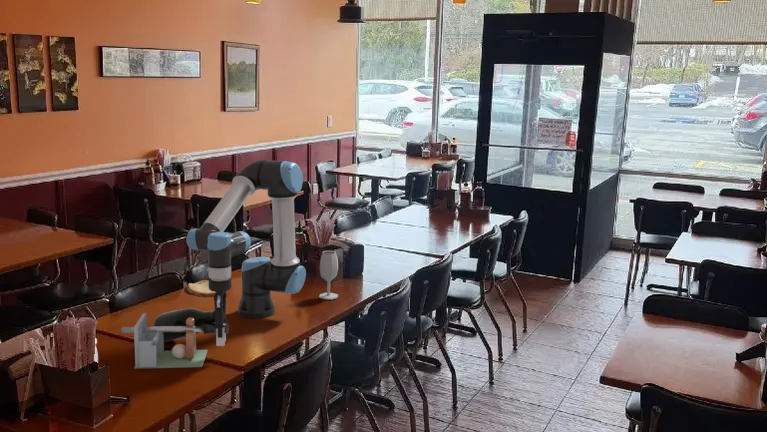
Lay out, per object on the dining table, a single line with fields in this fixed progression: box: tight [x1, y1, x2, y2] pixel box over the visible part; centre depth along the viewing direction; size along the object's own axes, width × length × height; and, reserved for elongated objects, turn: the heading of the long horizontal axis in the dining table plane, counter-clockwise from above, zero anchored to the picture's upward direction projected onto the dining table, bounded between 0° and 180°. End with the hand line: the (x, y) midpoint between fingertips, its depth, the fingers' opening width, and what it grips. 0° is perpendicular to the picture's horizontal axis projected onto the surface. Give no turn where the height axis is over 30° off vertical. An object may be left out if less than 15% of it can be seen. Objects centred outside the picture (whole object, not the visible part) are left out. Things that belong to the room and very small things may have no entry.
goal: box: [133, 312, 165, 369], centre depth 233 cm, size 7×14×14 cm, turn 7°
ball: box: [171, 343, 186, 359], centre depth 235 cm, size 5×5×5 cm
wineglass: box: [318, 250, 339, 301], centre depth 305 cm, size 9×9×21 cm
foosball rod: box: [121, 318, 229, 358], centre depth 234 cm, size 35×6×14 cm, turn 97°
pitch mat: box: [134, 349, 208, 370], centre depth 235 cm, size 22×14×1 cm, turn 97°
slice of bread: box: [186, 279, 216, 298], centre depth 312 cm, size 18×18×4 cm
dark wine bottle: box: [152, 307, 225, 342], centre depth 242 cm, size 10×10×33 cm
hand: (221, 343), depth 236 cm, fingers closed on foosball rod, 3 cm apart
